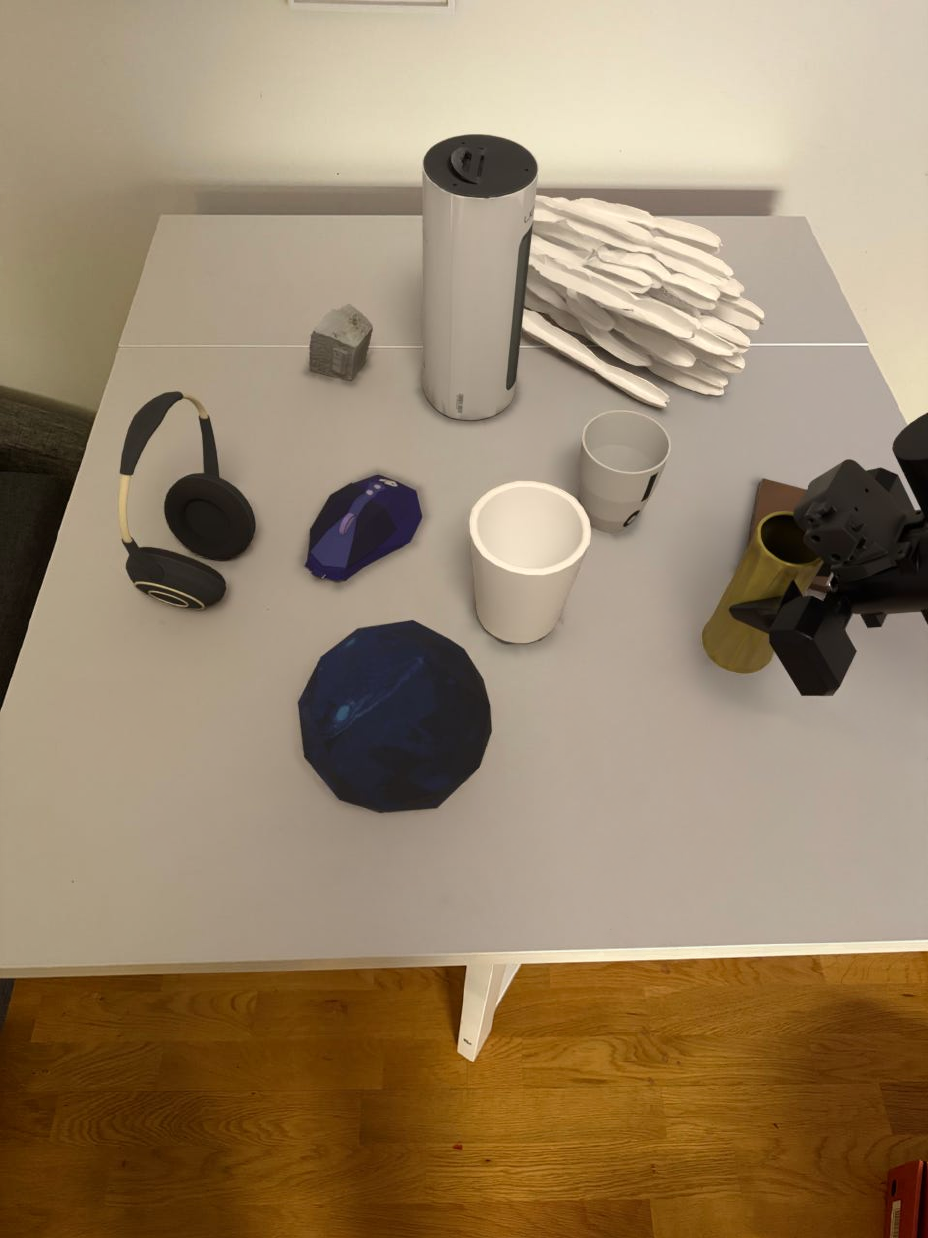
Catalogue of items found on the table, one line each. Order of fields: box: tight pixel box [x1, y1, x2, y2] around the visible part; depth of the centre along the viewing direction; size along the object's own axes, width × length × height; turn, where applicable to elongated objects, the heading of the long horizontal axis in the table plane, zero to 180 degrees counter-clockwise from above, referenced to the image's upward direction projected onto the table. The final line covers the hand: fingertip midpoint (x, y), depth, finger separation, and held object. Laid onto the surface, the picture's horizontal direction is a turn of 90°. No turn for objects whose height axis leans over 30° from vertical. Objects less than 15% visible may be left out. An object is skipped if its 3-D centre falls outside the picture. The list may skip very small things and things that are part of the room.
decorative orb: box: [297, 619, 493, 814], centre depth 66 cm, size 14×15×15 cm
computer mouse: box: [304, 474, 423, 583], centre depth 83 cm, size 9×15×4 cm, turn 152°
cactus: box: [521, 194, 766, 409], centre depth 96 cm, size 17×18×35 cm
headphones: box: [117, 390, 257, 611], centre depth 73 cm, size 9×15×20 cm, turn 165°
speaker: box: [421, 133, 540, 422], centre depth 86 cm, size 11×10×26 cm
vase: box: [700, 511, 824, 675], centre depth 68 cm, size 6×6×14 cm
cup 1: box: [468, 480, 592, 645], centre depth 75 cm, size 10×10×13 cm
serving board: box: [745, 477, 829, 595], centre depth 86 cm, size 12×12×1 cm
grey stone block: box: [308, 303, 374, 382], centre depth 94 cm, size 7×9×8 cm
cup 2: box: [578, 409, 672, 533], centre depth 83 cm, size 8×8×10 cm
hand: (746, 587), depth 68 cm, fingers closed on vase, 5 cm apart
